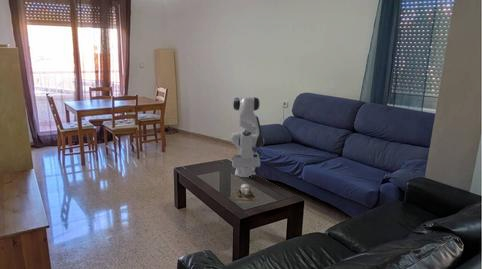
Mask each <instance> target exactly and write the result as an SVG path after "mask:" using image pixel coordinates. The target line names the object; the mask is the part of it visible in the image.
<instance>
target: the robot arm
mask: <svg viewBox="0 0 482 269" xmlns="http://www.w3.org/2000/svg"><path fill="white" fill-rule="evenodd" d="M260 105H261V103H260V99H259V97H255V96H254V97H251V96H246V97H245V96H243V97H235V98H233V101H232V107H233V109H234V110H235V111H238V112H239V115H238V116H239V126H240V127H241V128H242V129H244V130H245V131H236V132H232V134H230V135H231V136H230V141H231V143H232V144H233V145H234V146H236V148H237V150H238V154H234V155H232V157H231V160H232V163H231V166H232V168H233V169H236V170H235V172H234V176H235V177H241V178H250V177H249V176H251V175H253V176H255V175H256V174H257V173H256V172H255V170H256V168H259V167H261V159H260V154H259V153H258V152H256V151H254V150H253V148H257V149H261V148H262V147H264V144H265V138H264V135H263V131H262V127H261V123H260V120H259V116H257V115H256V113H254V111H257V110H259V108H260ZM251 177H252V176H251Z"/></svg>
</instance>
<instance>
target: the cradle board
mask: <svg viewBox="0 0 482 269" xmlns="http://www.w3.org/2000/svg"><path fill="white" fill-rule="evenodd" d="M232 193H233V196H234V198H235V200H236V201H235V202H236V203H237V204H246V203H247V204H248V203H260V200H259V198H258V196H257V194H256V193H255V191H254V190H253V189H251V188H249V195H248V196H242V195H241V189H236V190H232Z"/></svg>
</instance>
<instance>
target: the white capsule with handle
mask: <svg viewBox="0 0 482 269" xmlns="http://www.w3.org/2000/svg"><path fill="white" fill-rule="evenodd" d="M249 189H250V185H249V184H247V183H243V184H241V185H240V190H241V195H242V196H248V195H249Z"/></svg>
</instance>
